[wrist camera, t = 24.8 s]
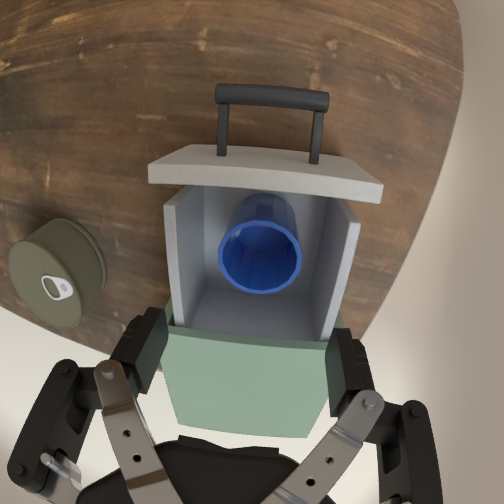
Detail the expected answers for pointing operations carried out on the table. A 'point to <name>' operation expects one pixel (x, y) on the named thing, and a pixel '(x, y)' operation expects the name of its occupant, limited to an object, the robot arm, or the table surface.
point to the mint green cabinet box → (244, 381)
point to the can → (58, 272)
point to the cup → (261, 245)
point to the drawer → (249, 183)
